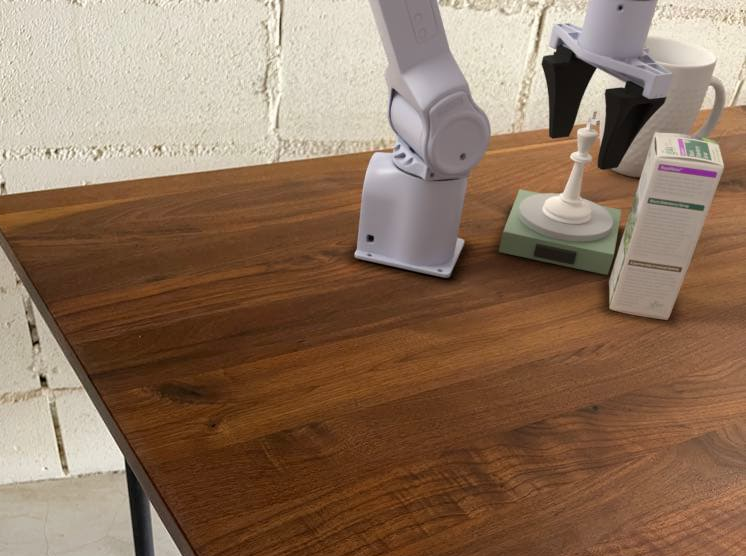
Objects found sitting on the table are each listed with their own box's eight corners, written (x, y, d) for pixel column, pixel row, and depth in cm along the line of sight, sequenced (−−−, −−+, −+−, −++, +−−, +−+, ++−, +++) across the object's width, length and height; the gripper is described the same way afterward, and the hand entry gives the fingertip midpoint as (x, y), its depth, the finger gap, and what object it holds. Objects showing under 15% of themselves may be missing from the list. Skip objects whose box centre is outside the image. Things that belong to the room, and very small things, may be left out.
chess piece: (565, 228, 88) (594, 123, 81) (532, 207, 90) (556, 104, 83) (600, 218, 90) (631, 116, 83) (567, 199, 93) (593, 98, 86)
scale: (497, 253, 89) (503, 226, 87) (515, 208, 97) (521, 182, 95) (607, 277, 87) (616, 249, 85) (615, 229, 95) (623, 203, 93)
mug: (678, 148, 114) (717, 36, 104) (722, 185, 106) (768, 67, 97) (572, 149, 110) (602, 33, 101) (609, 187, 103) (645, 65, 94)
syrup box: (669, 321, 82) (730, 164, 72) (605, 310, 82) (657, 153, 72) (666, 292, 86) (723, 139, 76) (605, 281, 87) (653, 128, 76)
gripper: (719, 13, 73) (664, 176, 83) (607, -33, 82) (569, 120, 92) (655, 18, 71) (605, 186, 80) (546, -30, 79) (514, 126, 89)
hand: (582, 151), depth 86 cm, fingers open, 7 cm apart
